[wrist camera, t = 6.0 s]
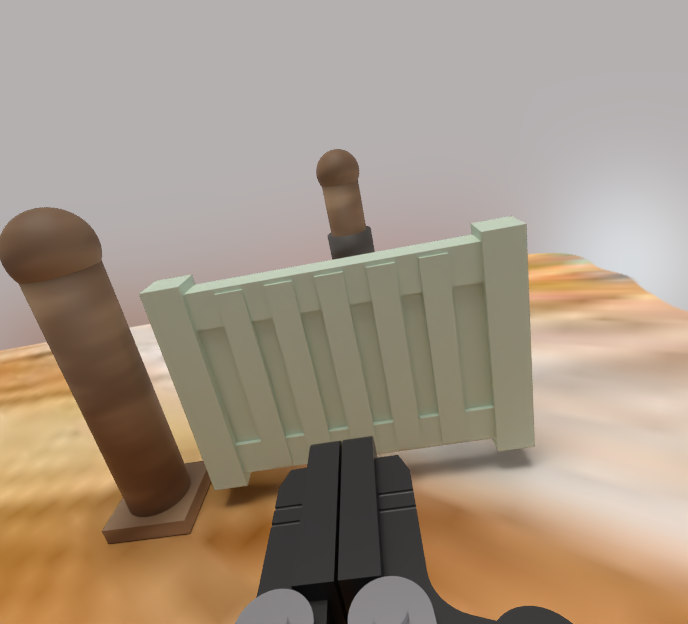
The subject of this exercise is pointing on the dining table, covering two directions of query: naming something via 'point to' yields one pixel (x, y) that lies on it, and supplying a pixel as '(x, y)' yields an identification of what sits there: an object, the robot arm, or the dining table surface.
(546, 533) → the dining table surface
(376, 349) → the gate
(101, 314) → the hinge post
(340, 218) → the post
